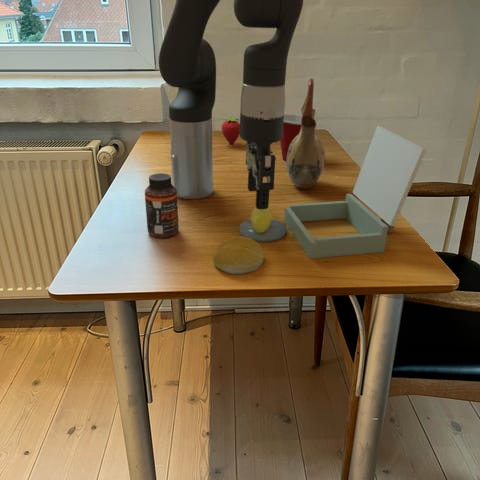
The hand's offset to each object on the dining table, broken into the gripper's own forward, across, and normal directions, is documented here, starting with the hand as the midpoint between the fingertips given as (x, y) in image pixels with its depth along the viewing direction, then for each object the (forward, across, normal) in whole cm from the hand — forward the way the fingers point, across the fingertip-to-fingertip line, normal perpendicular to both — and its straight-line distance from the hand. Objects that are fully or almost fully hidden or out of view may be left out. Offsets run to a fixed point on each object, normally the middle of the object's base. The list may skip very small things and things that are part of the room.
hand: (257, 199), depth 86 cm
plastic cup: (+7, -45, +19) cm, 50 cm away
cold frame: (+7, +3, +14) cm, 16 cm away
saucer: (+7, 0, +1) cm, 7 cm away
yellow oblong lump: (+6, 0, +1) cm, 6 cm away
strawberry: (+8, -61, +4) cm, 62 cm away
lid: (-6, +3, +23) cm, 24 cm away
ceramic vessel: (+7, -24, +16) cm, 30 cm away
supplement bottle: (+8, -2, -18) cm, 19 cm away
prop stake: (+6, +3, +26) cm, 27 cm away
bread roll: (+7, +11, -5) cm, 14 cm away
